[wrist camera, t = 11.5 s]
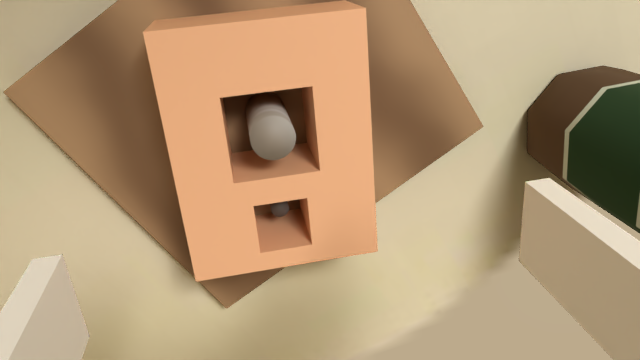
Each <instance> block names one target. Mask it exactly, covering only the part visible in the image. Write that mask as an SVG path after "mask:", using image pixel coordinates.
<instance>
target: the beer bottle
mask: <svg viewBox="0 0 640 360" xmlns="http://www.w3.org/2000/svg"><path fill="white" fill-rule="evenodd" d="M527 152H528V154H529V155H531V156H532V157H533V158H534V159H536V160H537V161H538V162H539V163H541V164H542V165H543V166H544V167H546V168H547V169H548V170H549V171H551V172H552V173H553V174H554V175H556V176H557V177H558V178H559V179H561V180H562V181H563V182H564V183H566V184H567V185H568V186H570V187H571V188H572V189H574V190H575V191H577V192H578V193H580V194H581V195H583V196H584V197H586V198H587V199H589V200H590V201H592V202H593V203H595V204H596V205H598V206H599V207H601V208H602V209H604V210H606V211H607V212H608V213H610V214H611V215H613V216H614V217H616V218H617V219H619V220H620V221H622V222H624V223H625V224H626V225H628V226H629V227H631V228H632V229H634V230H635V231H637V232H638V233H640V74H636V73H633V72H630V71H626V70H622V69H617V68H612V67H607V66H599V67H593V68H588V69H583V70H577V71H572V72H567V73H561V74H559V75H557V76H556V77H555V79H554V80H553V81H552V82H551V83H550V85H549V86H548V87H547V88H546V89H545V90H544V92H543V93H542V94H541V95H540V96H539V98H538V99H537V100H536V101H535V102H534V104H533V105H532V106H531V107H530V108H529V109H528V133H527Z"/></svg>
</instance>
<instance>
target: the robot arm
mask: <svg viewBox="0 0 640 360" xmlns="http://www.w3.org/2000/svg"><path fill="white" fill-rule="evenodd" d="M519 261H520V262H521V263H522V264H523V266H525V268H526V269H527V270H528V271H529V272H530V273H531V274H532V275H533V276H534V277H535V278H536V279H537V280H538V281H539V282H540V283H541V284H542V285H543V287H545V289H546V290H547V291H548V292H549V293H550V294H551V295H552V296H553V297H554V298H555V299H556V300H557V301H558V302H559V303H560V304H561V305H562V306H563V308H564V309H565V310H566V311H567V312H568V313H569V314H570V315H571V316H572V317H573V318H574V319H575V320H576V321H577V322H578V323H579V324H580V325H581V326H582V327H583V329H584V330H585V331H586V332H587V333H588V334H589V335H590V336H591V337H592V338H593V339H594V340H595V341H596V342H597V343H598V344H599V345H600V346H601V347H602V348H603V349H604V351H606V353H607V354H608V355H609V356H610V357H611V358H612V359H613V360H640V241H639V240H637V239H636V238H634V237H633V236H632V235H630V234H629V233H627V232H626V231H624V230H623V229H622V228H620V227H619V226H617V225H616V224H614V223H613V222H612V221H610V220H609V219H607V218H606V217H604V216H603V215H602V214H600V213H599V212H597V211H596V210H594V209H593V208H592V207H590V206H589V205H587V204H586V203H584V202H583V201H582V200H580V199H579V198H577V197H576V196H574V195H573V194H572V193H570V192H569V191H567V190H566V189H564V188H563V187H562V186H560V185H559V184H557V183H556V182H555V181H553V180H552V179H550V178H545V179H539V180H533V181H526V182H525V190H524V202H523V215H522V227H521V239H520V252H519ZM89 337H90V336H89V333H88V330H87V327H86V324H85V321H84V318H83V315H82V311H81V308H80V305H79V302H78V299H77V296H76V293H75V290H74V287H73V284H72V281H71V278H70V275H69V272H68V269H67V266H66V263H65V260H64V257H63V254H61V255H55V256H48V257H42V258H35V259H32V260H31V262H30V264H29V265H28V267H27V269H26V270H25V272H24V274H23V275H22V277H21V279H20V280H19V282H18V284H17V285H16V287H15V289H14V290H13V292H12V294H11V295H10V297H9V299H8V300H7V302H6V304H5V305H4V307H3V309H2V310H1V312H0V360H82V358H83V355H84V352H85V349H86V346H87V343H88V340H89Z"/></svg>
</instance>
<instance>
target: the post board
mask: <svg viewBox="0 0 640 360" xmlns="http://www.w3.org/2000/svg"><path fill="white" fill-rule="evenodd" d="M333 1H342V0H118V1H117V2H115V3H114V4H113V5H112V6H110V7H109V8H108V9H107V10H105V11H104V12H103V13H102V14H100V15H99V16H98V17H97V18H95V19H94V20H93V21H92V22H90V23H89V24H88V25H87V26H85V27H84V28H83V29H82V30H80V31H79V32H78V33H77V34H75V35H74V36H73V37H72V38H70V39H69V40H68V41H67V42H65V43H64V44H63V45H62V46H60V47H59V48H58V49H57V50H55V51H54V52H53V53H52V54H50V55H49V56H48V57H47V58H45V59H44V60H43V61H42V62H40V63H39V64H38V65H37V66H35V67H34V68H33V69H31V70H30V71H29V72H28V73H26V74H25V75H24V76H23V77H21V78H20V79H19V80H18V81H16V82H15V83H14V84H13V85H11V86H10V87H9V88H8V89H6V90H5V91H4V93H5V94H6V95H7V96H8V97H9V98H10V99H11V100H12V101H13V102H14V103H15V104H16V105H17V106H18V107H19V108H20V109H21V110H22V111H23V112H24V113H25V114H26V115H27V116H28V117H29V118H30V119H32V120H33V121H34V122H35V123H36V124H37V125H38V126H39V127H40V128H41V129H42V130H43V131H44V132H45V133H46V134H47V135H48V136H49V137H50V138H51V139H52V140H53V141H54V142H55V143H56V144H57V145H58V146H59V147H60V148H61V149H62V150H64V151H65V152H66V153H67V154H68V155H69V156H70V157H71V158H72V159H73V160H74V161H75V162H76V163H77V164H78V165H79V166H80V167H81V168H82V169H83V170H84V171H85V172H86V173H87V174H88V175H89V176H90V177H91V178H92V179H93V180H94V181H96V182H97V183H98V184H99V185H100V186H101V187H102V188H103V189H104V190H105V191H106V192H107V193H108V194H109V195H110V196H111V197H112V198H113V199H114V200H115V201H116V202H117V203H118V204H119V205H120V206H121V207H122V208H123V209H124V210H125V211H126V212H128V213H129V214H130V215H131V216H132V217H133V218H134V219H135V220H136V221H137V222H138V223H139V224H140V225H141V226H142V227H143V228H144V229H145V230H146V231H147V232H148V233H149V234H150V235H151V236H152V237H153V238H154V239H155V240H156V241H157V242H158V243H160V244H161V245H162V246H163V247H164V248H165V249H166V250H167V251H168V252H169V253H170V254H171V255H172V256H173V257H174V258H175V259H176V260H177V261H178V262H179V263H180V264H181V265H182V266H183V267H184V268H185V269H186V270H187V271H188V272H189V273H191V274H192V275H193V276H194V277H195V275H194V270H193V266H192V261H191V256H190V252H189V247H188V242H187V237H186V233H185V228H184V223H183V219H182V214H181V209H180V205H179V200H178V195H177V190H176V186H175V181H174V176H173V172H172V167H171V162H170V158H169V153H168V148H167V143H166V139H165V134H164V129H163V125H162V120H161V115H160V110H159V106H158V101H157V96H156V92H155V87H154V82H153V78H152V73H151V68H150V63H149V59H148V54H147V49H146V45H145V40H144V35H143V31H144V30H145V29H146V28H147V27H148V26H149V25H150V24H151V23H152V22H153V21H154V20H163V19H172V18H182V17H191V16H201V15H210V14H220V13H229V12H238V11H248V10H257V9H267V8H276V7H286V6H295V5H304V4H314V3H323V2H333ZM346 1H349V2H351V3H354V4H357V5H359V6H362V7H365V8H366V18H367V39H368V60H369V81H370V102H371V123H372V144H373V165H374V186H375V203H376V202H378V201H379V200H381V199H382V198H383V197H385V196H386V195H388V194H389V193H390V192H392V191H393V190H395V189H396V188H397V187H399V186H400V185H402V184H403V183H405V182H406V181H407V180H409V179H410V178H412V177H413V176H414V175H416V174H417V173H419V172H420V171H421V170H423V169H424V168H426V167H427V166H428V165H430V164H431V163H433V162H434V161H436V160H437V159H438V158H440V157H441V156H443V155H444V154H445V153H447V152H448V151H450V150H451V149H452V148H454V147H455V146H457V145H458V144H460V143H461V142H462V141H464V140H465V139H467V138H468V137H469V136H471V135H472V134H474V133H475V132H476V131H478V130H479V129H481V128H482V127H483V125H482V123H481V121H480V120H479V118H478V116H477V115H476V113H475V111H474V109H473V108H472V106H471V104H470V103H469V101H468V99H467V97H466V96H465V94H464V92H463V90H462V89H461V87H460V85H459V84H458V82H457V80H456V78H455V77H454V75H453V73H452V72H451V70H450V68H449V66H448V65H447V63H446V61H445V60H444V58H443V56H442V54H441V53H440V51H439V49H438V48H437V46H436V44H435V42H434V41H433V39H432V37H431V35H430V34H429V32H428V30H427V29H426V27H425V25H424V23H423V22H422V20H421V18H420V17H419V15H418V13H417V11H416V10H415V8H414V6H413V5H412V3H411V1H410V0H346ZM223 102H224V108H225V114H226V120H227V127H228V133H229V139H230V145H231V151H232V153H236V152H243V151H251V150H254V151H255V153H256V154H257V155H259V156H260V157H262V158H264V159H267V160H278V159H281V158H284V157H285V156H287V155H288V154H289V153H290V152H291V151H292V150H293V148H294V146H295V144H301V143H307V138H306V128H305V118H304V108H303V98H302V88H294V89H286V90H278V91H270V92H262V93H255V94H247V95H239V96H231V97H223ZM294 209H301V207H300V199H298V200H291V201H284V202H278V203H271V204H265V205H258V206H254V210H255V215H262V214H268V213H272V214H273V215H275V216H277V217H282V216H285V215H286V214H287V213H288V211H289V210H294ZM283 268H285V267H281V268H275V269H269V270H263V271H257V272H251V273H245V274H239V275H233V276H227V277H221V278H215V279H209V280H203V281H199V282H200V283H201V284H202V285H203V286H204V287H205V288H206V289H207V290H208V291H209V292H210V293H211V294H212V295H213V296H214V297H215V298H216V299H217V300H218V301H219V302H220V303H221V304H223V305H224V306H225V307H226V308H228V307H230V306H231V305H232V304H234V303H235V302H237V301H238V300H240V299H241V298H242V297H244V296H245V295H247V294H248V293H249V292H251V291H252V290H254V289H255V288H256V287H258V286H259V285H261V284H262V283H263V282H265V281H266V280H268V279H269V278H271V277H272V276H273V275H275V274H276V273H278V272H279V271H280V270H282V269H283Z"/></svg>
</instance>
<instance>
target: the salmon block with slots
mask: <svg viewBox="0 0 640 360" xmlns="http://www.w3.org/2000/svg"><path fill="white" fill-rule="evenodd" d="M143 35H144V40H145V45H146V49H147V54H148V59H149V63H150V68H151V73H152V78H153V82H154V87H155V92H156V96H157V101H158V106H159V110H160V115H161V120H162V125H163V129H164V134H165V139H166V143H167V148H168V153H169V158H170V162H171V167H172V172H173V176H174V181H175V186H176V190H177V195H178V200H179V205H180V209H181V214H182V219H183V223H184V228H185V233H186V237H187V242H188V247H189V252H190V256H191V261H192V266H193V270H194V275H195V280H196V282H197V281H203V280H209V279H215V278H221V277H227V276H233V275H239V274H245V273H251V272H257V271H263V270H269V269H275V268H281V267H287V266H293V265H299V264H305V263H311V262H317V261H323V260H329V259H335V258H341V257H347V256H353V255H359V254H365V253H371V252H377V251H378V249H377V228H376V207H375V186H374V165H373V144H372V123H371V102H370V81H369V60H368V39H367V18H366V8H365V7H362V6H359V5H357V4H354V3H351V2H349V1H346V0H342V1H333V2H323V3H314V4H304V5H295V6H286V7H276V8H267V9H257V10H248V11H238V12H229V13H220V14H210V15H201V16H191V17H182V18H172V19H163V20H154V21H153V22H152V23H151V24H150V25H149V26H148V27H147V28H146V29H145V30H144V31H143ZM294 88H302V98H303V108H304V118H305V128H306V138H307V143H301V144H295V146H294V148H293V150H292V151H291V152H290V153H289V154H288V155H287V156H285V157H284V158H281V159H278V160H267V159H264V158H262V157H260V156H259V155H257V154H256V153H255V151H254V150H251V151H243V152H236V153H232V151H231V145H230V139H229V133H228V127H227V120H226V114H225V108H224V102H223V97H231V96H239V95H247V94H255V93H262V92H270V91H278V90H286V89H294ZM298 199H300V207H301V209H294V210H289V211H288V213H287V214H286V215H285V216H282V217H277V216H275V215H273V214H272V213H268V214H262V215H255V210H254V206H258V205H265V204H271V203H278V202H284V201H291V200H298Z"/></svg>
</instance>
